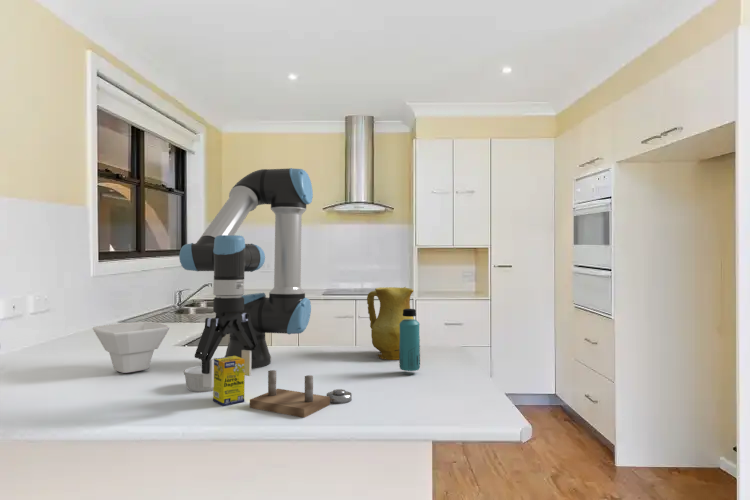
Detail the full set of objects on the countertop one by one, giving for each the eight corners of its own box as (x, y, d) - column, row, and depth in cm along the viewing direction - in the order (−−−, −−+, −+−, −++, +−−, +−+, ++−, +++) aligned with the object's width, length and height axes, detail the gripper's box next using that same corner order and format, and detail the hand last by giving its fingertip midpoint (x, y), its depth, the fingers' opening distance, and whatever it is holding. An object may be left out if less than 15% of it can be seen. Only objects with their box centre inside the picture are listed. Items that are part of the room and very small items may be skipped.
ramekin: (182, 384, 149) (182, 366, 149) (223, 381, 153) (223, 363, 153) (185, 395, 139) (185, 375, 139) (228, 390, 143) (228, 371, 143)
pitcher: (385, 362, 175) (386, 287, 176) (361, 355, 192) (361, 286, 193) (429, 359, 183) (429, 287, 184) (401, 352, 200) (402, 286, 201)
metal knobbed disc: (321, 401, 133) (321, 392, 133) (334, 395, 139) (334, 386, 139) (343, 405, 130) (343, 395, 130) (356, 398, 136) (356, 389, 136)
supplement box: (223, 406, 129) (223, 362, 129) (212, 401, 133) (212, 358, 133) (245, 402, 133) (245, 358, 133) (234, 396, 137) (234, 355, 137)
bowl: (175, 371, 165) (175, 326, 165) (110, 382, 151) (110, 334, 150) (149, 361, 178) (149, 320, 177) (86, 371, 163) (86, 327, 163)
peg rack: (249, 407, 128) (249, 374, 128) (277, 396, 138) (277, 365, 138) (304, 417, 121) (304, 382, 121) (329, 404, 130) (329, 372, 130)
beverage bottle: (418, 376, 159) (419, 310, 158) (397, 375, 160) (397, 309, 160) (421, 371, 165) (421, 307, 165) (400, 370, 166) (400, 307, 166)
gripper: (203, 300, 120) (202, 394, 120) (271, 293, 142) (271, 372, 142) (179, 299, 123) (178, 390, 123) (250, 292, 145) (249, 369, 145)
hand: (228, 380), depth 132 cm, fingers open, 13 cm apart
